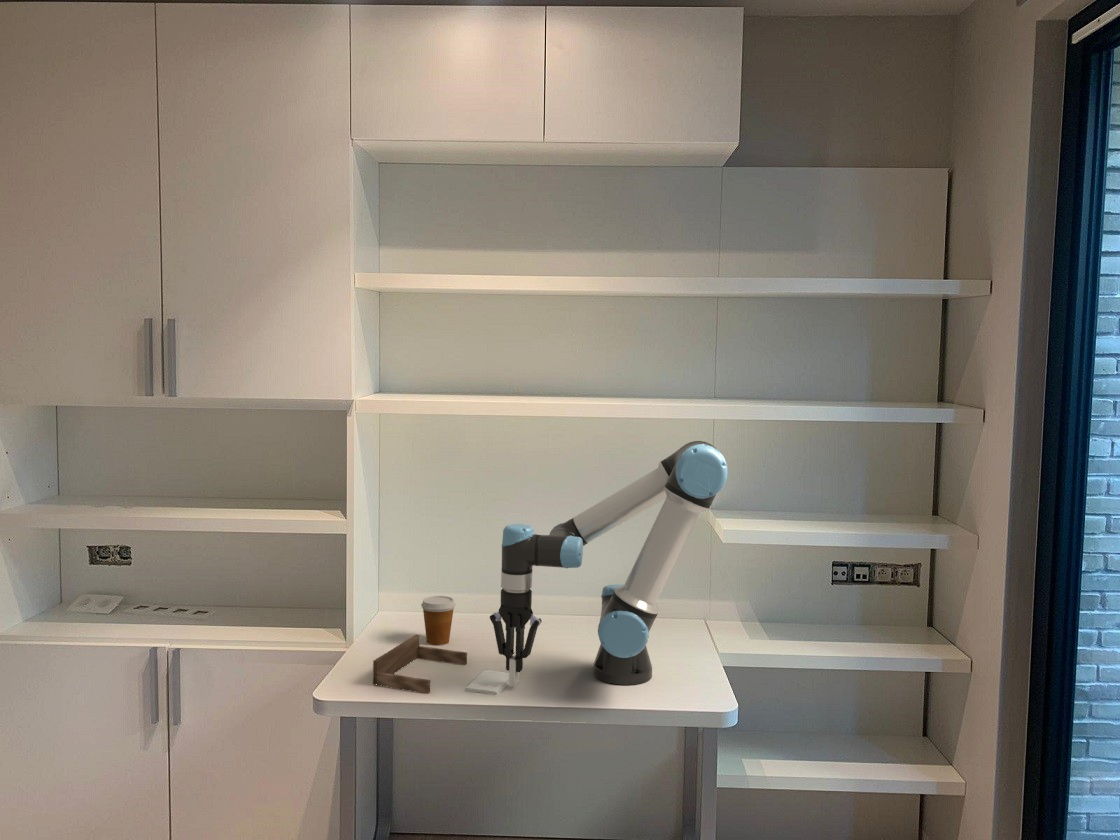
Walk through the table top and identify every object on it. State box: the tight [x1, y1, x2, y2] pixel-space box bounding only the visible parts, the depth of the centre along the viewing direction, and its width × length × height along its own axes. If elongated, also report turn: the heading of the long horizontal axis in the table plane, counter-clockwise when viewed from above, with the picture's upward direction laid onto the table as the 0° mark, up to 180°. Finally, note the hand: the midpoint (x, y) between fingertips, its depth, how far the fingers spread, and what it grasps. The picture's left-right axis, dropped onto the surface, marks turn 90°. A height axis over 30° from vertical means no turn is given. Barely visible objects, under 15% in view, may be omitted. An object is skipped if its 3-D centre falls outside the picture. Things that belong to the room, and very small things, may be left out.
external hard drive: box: [464, 669, 509, 696], centre depth 214 cm, size 2×8×12 cm
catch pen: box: [372, 634, 468, 694], centre depth 219 cm, size 15×22×6 cm
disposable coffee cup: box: [420, 595, 456, 646], centre depth 244 cm, size 10×10×12 cm
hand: (513, 683), depth 211 cm, fingers closed
